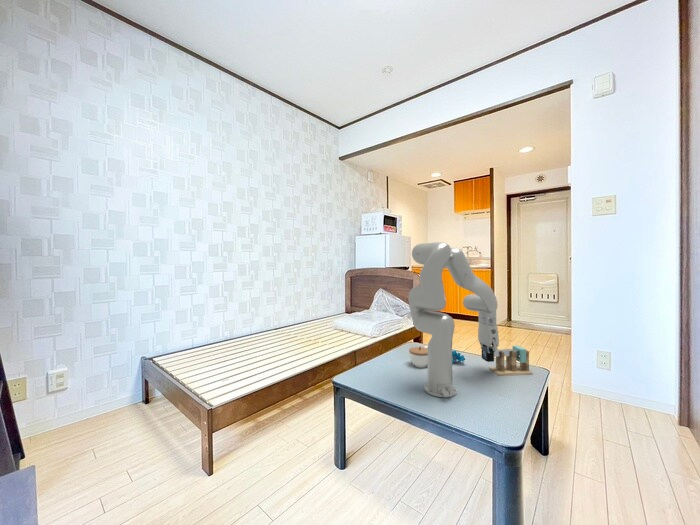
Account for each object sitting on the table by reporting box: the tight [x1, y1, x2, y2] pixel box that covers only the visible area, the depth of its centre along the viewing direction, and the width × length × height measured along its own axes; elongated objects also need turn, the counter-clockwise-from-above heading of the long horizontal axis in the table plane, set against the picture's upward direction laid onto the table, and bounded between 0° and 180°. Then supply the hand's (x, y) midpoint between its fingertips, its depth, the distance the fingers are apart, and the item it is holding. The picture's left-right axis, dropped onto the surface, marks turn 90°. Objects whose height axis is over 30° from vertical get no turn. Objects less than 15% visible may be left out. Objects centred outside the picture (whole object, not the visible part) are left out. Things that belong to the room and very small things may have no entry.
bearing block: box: [488, 348, 533, 377], centre depth 134 cm, size 8×16×10 cm, turn 95°
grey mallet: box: [482, 346, 528, 362], centre depth 134 cm, size 4×20×6 cm, turn 95°
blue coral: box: [452, 349, 466, 365], centre depth 147 cm, size 11×6×10 cm
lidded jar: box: [408, 345, 428, 368], centre depth 144 cm, size 11×11×9 cm
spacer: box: [512, 345, 527, 363], centre depth 135 cm, size 6×2×6 cm, turn 5°
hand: (487, 359), depth 133 cm, fingers closed on grey mallet, 3 cm apart
